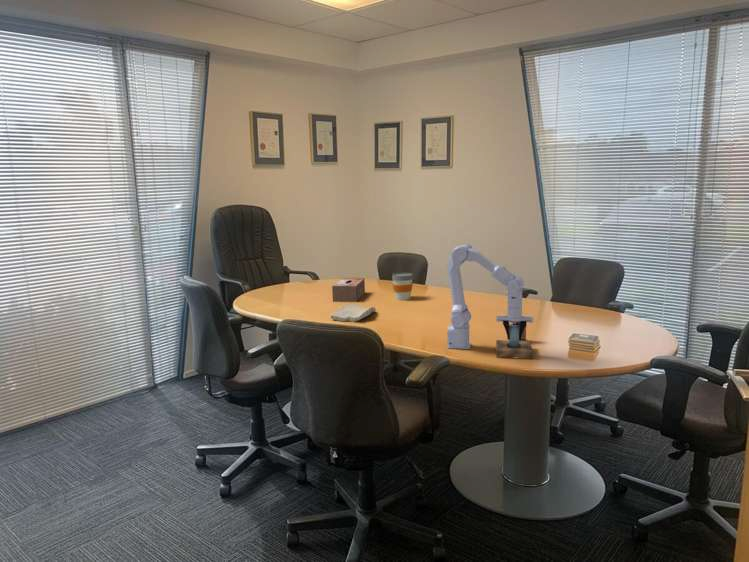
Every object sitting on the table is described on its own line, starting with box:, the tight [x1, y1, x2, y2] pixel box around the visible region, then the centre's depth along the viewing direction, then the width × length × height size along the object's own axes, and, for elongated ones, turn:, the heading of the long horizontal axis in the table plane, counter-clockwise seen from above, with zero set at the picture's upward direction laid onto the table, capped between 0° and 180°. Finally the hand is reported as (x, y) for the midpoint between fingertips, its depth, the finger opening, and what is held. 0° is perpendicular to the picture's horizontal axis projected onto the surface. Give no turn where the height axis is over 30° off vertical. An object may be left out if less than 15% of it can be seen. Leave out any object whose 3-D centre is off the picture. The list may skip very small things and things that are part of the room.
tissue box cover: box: [331, 277, 366, 303], centre depth 336 cm, size 26×14×10 cm, turn 169°
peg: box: [509, 326, 520, 347], centre depth 222 cm, size 4×4×8 cm
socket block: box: [495, 339, 534, 359], centre depth 223 cm, size 14×14×3 cm
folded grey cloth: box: [330, 303, 377, 323], centre depth 289 cm, size 24×8×20 cm
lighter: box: [507, 322, 527, 341], centre depth 238 cm, size 8×3×10 cm, turn 92°
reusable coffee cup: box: [391, 272, 414, 301], centre depth 327 cm, size 13×13×15 cm
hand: (514, 338), depth 222 cm, fingers closed on peg, 4 cm apart
